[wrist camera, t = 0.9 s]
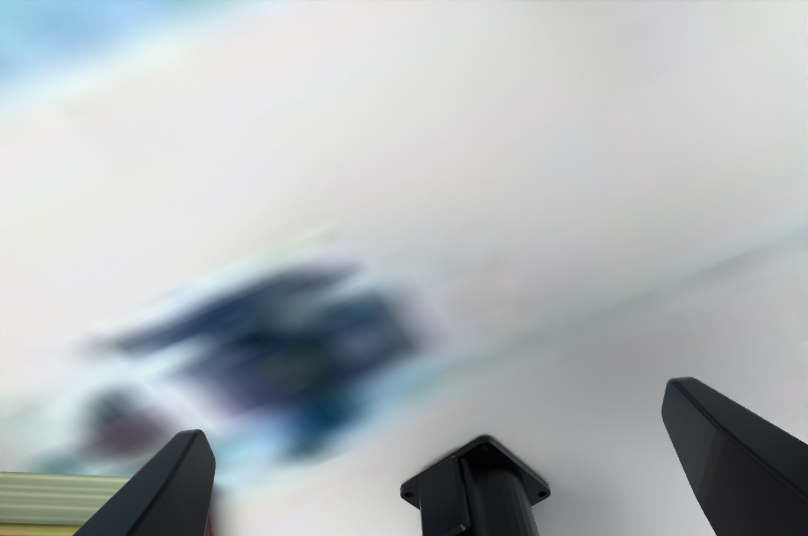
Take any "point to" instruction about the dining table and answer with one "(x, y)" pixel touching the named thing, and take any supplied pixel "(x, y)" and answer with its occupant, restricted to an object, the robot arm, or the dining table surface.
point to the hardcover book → (53, 502)
